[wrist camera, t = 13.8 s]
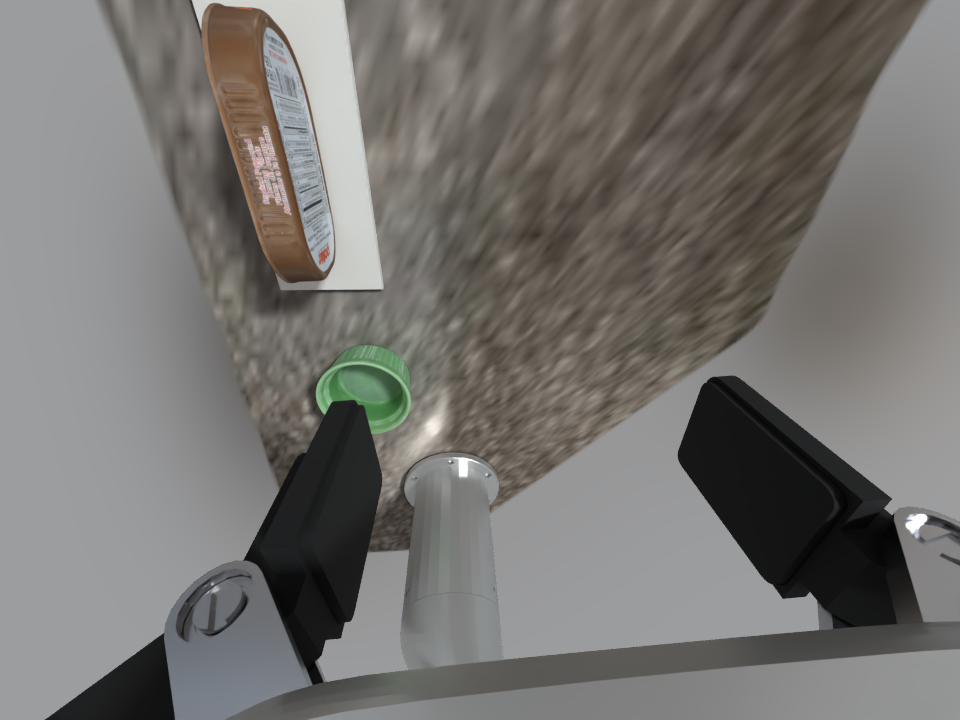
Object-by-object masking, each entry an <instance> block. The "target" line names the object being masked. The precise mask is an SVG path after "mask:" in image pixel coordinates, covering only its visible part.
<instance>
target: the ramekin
mask: <svg viewBox="0 0 960 720" xmlns="http://www.w3.org/2000/svg"><path fill="white" fill-rule="evenodd" d="M316 400H317V403H318V406H319V408H320V410H321V411H322V413H323V414H324V415H325V414H326V412H327V410H328V408H329V406H330V404H331V403H332V402H333V401H344V400H356V402H357V404H358V405H364V407H365V410H366V414H367V418H368V422H369V426H370V430H371V434H380V433H384V432H387V431H390V430H392V429H394V428H396V427H397V426H398V425H400V424H401V423H402V422H403V421H404V420H405V418H406V417H407V415H408V413H409V411H410V407H411V394H410V375H409V372H408V369H407V367H406V365H405V363H404V362H403V361H402V359H400V357H398V356H397V355H396V354H395V353H393V352H391V351H390V350H388V349H385V348H383V347H379V346H374V345H360V346H355V347H352V348H350V349H348V350H346V351H344V352H343V353H342V354H341V355H340V356H339V357H338V358H337V359H336V361H335V362H334V364H333V365H332V366H331V367H330V368H329V369H328V370H327V371H326V372H325V373H324V374H323V375H322V377H321V378H320V380H319V381H318V384H317V387H316Z"/></svg>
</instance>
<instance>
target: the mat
mask: <svg viewBox="0 0 960 720" xmlns="http://www.w3.org/2000/svg"><path fill="white" fill-rule="evenodd" d="M192 2H193V5H194V9H195V12H196V15H197V19H198V22H199V25H200V28H201V27H202V16H203V13H204V11H205V9H206V8H207V6H208V5H209V4H211V3H220V4H222V5H224V6H232V7H251V8H258V9H261V10H263V11H265V12H266V13H267V14H268V15H269V16H270V17H271V18H272V19H273V20H274V21H275V23H276V24H277V25H278V26H279V27H280V28H281V30H282V31H283V32H284V34H285V35H286V37H287V39H288V41H289V43H290V45H291V47H292V49H293V52H294V54H295V57H296V59H297V62H298V64H299V67H300V70H301V73H302V77H303V80H304V83H305V87H306V90H307V94H308V98H309V102H310V106H311V111H312V116H313V121H314V126H315V130H316V135H317V140H318V145H319V150H320V155H321V160H322V165H323V170H324V175H325V180H326V186H327V191H328V196H329V201H330V207H331V212H332V217H333V223H334V231H335V246H336V251H335V262H334V265H333V267H332V269H331V271H330V273H329V275H328V276H327V278H326V279H324V280H322V281H309V282H297V283H287V282H285V281H284V280H282V279H281V278H280V277H279V276H278V275H277V274H276V277H277V280H278V283H279V286H280V290H363V289H383V288H384V285H383V277H382V270H381V263H380V256H379V249H378V242H377V234H376V227H375V220H374V213H373V206H372V198H371V191H370V184H369V177H368V170H367V163H366V155H365V148H364V141H363V134H362V127H361V119H360V112H359V105H358V98H357V91H356V84H355V76H354V69H353V62H352V55H351V48H350V40H349V33H348V26H347V19H346V12H345V5H344V0H192Z"/></svg>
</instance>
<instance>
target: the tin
mask: <svg viewBox="0 0 960 720" xmlns="http://www.w3.org/2000/svg"><path fill="white" fill-rule="evenodd" d="M201 32H202V34H201V36H202V47H203V55H204V61H205V65H206V70H207V75H208V79H209V82H210V86H211V89H212V93H213V96H214V99H215V102H216V105H217V109H218V112H219V115H220V118H221V121H222V124H223V127H224V130H225V134H226V137H227V140H228V143H229V147H230V150H231V153H232V156H233V159H234V162H235V165H236V168H237V172H238V175H239V178H240V181H241V185H242V188H243V191H244V194H245V197H246V201H247V204H248V207H249V210H250V213H251V216H252V220H253V223H254V226H255V230H256V233H257V236H258V239H259V242H260V245H261V247H262V250H263V252H264V254H265V256H266V258H267V260H268V262H269V264H270V266H271V267H272V268H273V270H274V271H275V273H276V274H277V275H278V276H279V277H280V278H281V279H282V280H284V281H285V282H287V283H297V282H309V281H322V280H324V279H326V278H327V276H328V275H329V273H330V271H331V269H332V267H333V265H334V262H335V251H336V246H335V231H334V223H333V217H332V212H331V207H330V201H329V196H328V191H327V186H326V180H325V175H324V170H323V165H322V160H321V155H320V150H319V145H318V140H317V135H316V130H315V126H314V121H313V116H312V111H311V106H310V102H309V98H308V94H307V90H306V87H305V83H304V80H303V77H302V73H301V70H300V67H299V64H298V62H297V59H296V57H295V54H294V52H293V49H292V47H291V45H290V43H289V41H288V39H287V37H286V35H285V34H284V32H283V31H282V30H281V28H280V27H279V26H278V25H277V24H276V23H275V21H274V20H273V19H272V18H271V17H270V16H269V15H268V14H267V13H266V12H265V11H263V10H261V9H258V8H251V7H232V6H224V5H222V4H220V3H211V4H209V5H208V6H207V8H206V9H205V11H204V13H203V16H202V27H201Z"/></svg>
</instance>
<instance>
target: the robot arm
mask: <svg viewBox="0 0 960 720" xmlns="http://www.w3.org/2000/svg"><path fill="white" fill-rule="evenodd" d="M678 460H679V462H680V464H681V466H682V467H683V469H684V470H685V471H686V472H687V474H688V475H689V477H690V478H691V479H692V481H693V482H694V484H695V485H696V486H697V488H698V489H699V491H700V492H701V493H702V495H703V496H704V498H705V499H706V500H707V502H708V503H709V504H710V506H711V507H712V509H713V510H714V511H715V513H716V514H717V516H718V517H719V518H720V520H721V521H722V522H723V524H724V525H725V526H726V528H727V529H728V530H729V532H730V533H731V535H732V536H733V538H734V539H735V540H736V542H737V543H738V544H739V546H740V547H741V549H742V550H743V551H744V553H745V554H746V555H747V557H748V558H749V560H750V561H751V562H752V564H753V565H754V566H755V568H756V569H757V571H758V572H759V573H760V575H761V576H762V577H763V578H764V580H766V581H767V582H768V583H770V584H773V586H774V587H775V589H776V590H777V591H778V593H779V594H780V595H781V597H782V598H783V599H785V598H796V597H805V596H807V594H808V593H809V592H811V593H812V595H813V596H814V597H815V598H816V599H817V604H818V618H819V630H817V631H806V632H795V633H783V634H773V635H760V636H750V637H738V638H728V639H716V640H706V641H694V642H684V643H673V644H664V645H663V644H662V645H652V646H642V647H631V648H620V649H610V650H599V651H590V652H589V651H588V652H578V653H568V654H558V655H548V656H538V657H527V658H518V659H508V660H504V655H503V646H502V637H501V627H500V617H499V607H498V596H497V586H496V575H495V564H494V554H493V544H492V532H491V522H490V511H489V505H490V504H491V503H492V502H493V501H494V500H495V498H496V496H497V494H498V490H499V483H498V477H497V474H496V472H495V470H494V469H493V468H492V466H491V465H490V464H489V463H487V462H486V461H484V460H483V459H481V458H478V457H476V456H473V455H470V454H465V453H458V452H448V453H441V454H436V455H433V456H430V457H427V458H425V459H423V460H421V461H420V462H418V463H417V464H415V465H414V466H413V467H412V468H411V469H410V471H409V473H408V474H407V476H406V480H405V487H404V491H405V496H406V498H407V500H408V501H409V503H410V504H411V505H412V506H413V507H414V513H413V522H412V531H411V540H410V549H409V559H408V567H407V577H406V585H405V594H404V603H403V612H402V621H401V632H400V637H401V648H402V653H403V657H404V660H405V663H406V665H407V667H408V669H409V670H406V671H398V672H389V673H381V674H372V675H364V676H359V677H353V678H347V679H342V680H336V681H331V682H326V680H325V677H324V675H323V673H322V671H321V668H320V666H319V664H318V661H317V659H318V658H319V657H320V656H321V655H322V651H323V648H324V644H325V640H329V639H339V638H341V635H342V631H343V627H344V623H345V622H350V621H351V620H352V618H353V615H354V611H355V607H356V602H357V598H358V593H359V589H360V584H361V579H362V574H363V570H364V565H365V561H366V556H367V552H368V547H369V542H370V538H371V533H372V529H373V524H374V519H375V515H376V510H377V506H378V501H379V496H380V492H381V487H382V473H381V469H380V465H379V461H378V457H377V453H376V449H375V445H374V442H373V438H372V434H371V430H370V426H369V422H368V418H367V414H366V410H365V407H364V405H358V404H357V402H356V400H344V401H333V402H332V403H331V404H330V406H329V408H328V410H327V412H326V414H325V416H324V418H323V420H322V422H321V424H320V426H319V428H318V430H317V432H316V434H315V436H314V438H313V440H312V442H311V444H310V447H309V449H308V451H307V453H302V454H300V455H299V456H298V457H297V459H296V460H295V462H294V464H293V466H292V467H291V469H290V471H289V473H288V475H287V477H286V479H285V481H284V483H283V485H282V487H281V489H280V491H279V493H278V495H277V496H276V498H275V500H274V502H273V504H272V506H271V508H270V510H269V512H268V514H267V516H266V518H265V520H264V522H263V524H262V526H261V528H260V529H259V532H258V533H257V535H256V537H255V539H254V541H253V543H252V545H251V547H250V549H249V551H248V553H247V555H246V557H245V559H244V560H243V561H234V562H230V563H226V564H223V565H220V566H218V567H216V568H214V569H213V570H211V571H209V572H207V573H206V574H204V575H203V576H202V577H200V578H199V579H198V580H196V581H195V582H194V583H193V584H192V585H191V586H190V587H189V588H188V589H187V590H186V591H185V592H184V593H183V594H182V595H181V596H180V598H179V599H178V601H177V602H176V604H175V605H174V606H173V608H172V609H171V611H170V614H169V616H168V619H167V621H166V623H165V632H164V633H163V634H162V635H161V636H159V637H158V638H156V639H155V640H154V641H152V642H151V643H150V644H148V645H147V646H146V647H144V648H143V649H141V650H140V651H139V652H137V653H136V654H135V655H133V656H132V657H131V658H129V659H128V660H126V661H125V662H124V663H122V664H121V665H119V666H118V667H117V668H115V669H114V670H113V671H111V672H110V673H109V674H107V675H106V676H104V677H103V678H102V679H100V680H99V681H98V682H96V683H95V684H93V685H92V686H91V687H89V688H88V689H87V690H85V691H84V692H82V693H81V694H80V695H78V696H77V697H76V698H74V699H73V700H72V701H70V702H69V703H68V704H66V705H65V706H63V707H62V708H60V709H59V710H58V711H56V712H55V713H54V714H52V715H51V716H50V717H49V718H47V719H45V720H960V522H959V521H957V520H955V519H952V518H950V517H948V516H945V515H943V514H940V513H938V512H934V511H931V510H927V509H923V508H917V507H905V508H899V509H898V510H897V511H896V512H895V513H894V514H893V515H891V514H890V513H888V512H887V511H886V510H885V509H884V508H885V506H886V505H887V504H888V503H889V502H890V501H891V500H892V498H890V497H889V496H888V495H887V494H885V493H884V492H883V491H882V490H880V489H879V488H878V487H876V486H875V485H874V484H873V483H871V482H870V481H869V480H868V479H866V478H865V477H864V476H863V475H861V474H860V473H859V472H857V471H856V470H855V469H854V468H852V467H851V466H850V465H849V464H847V463H846V462H845V461H843V460H842V459H841V458H840V457H838V456H837V455H836V454H835V453H833V452H832V451H831V450H829V449H828V448H827V447H826V446H825V445H823V444H822V443H821V442H819V441H818V440H817V439H816V438H814V437H813V436H812V435H811V434H809V433H808V432H807V431H806V430H804V429H803V428H802V427H801V426H799V425H798V424H797V423H795V422H794V421H793V420H792V419H790V418H789V417H788V416H787V415H785V414H784V413H783V412H782V411H780V410H779V409H778V408H777V407H775V406H774V405H773V404H771V403H770V402H769V401H768V400H766V399H765V398H764V397H762V396H761V395H760V394H759V393H758V392H756V391H755V390H754V389H752V388H751V387H750V386H749V385H747V384H746V383H745V382H744V381H742V380H741V379H740V378H738V377H736V376H721V377H712V378H710V379H709V380H708V381H707V383H704V384H703V386H702V387H701V390H700V393H699V395H698V398H697V401H696V404H695V406H694V409H693V412H692V415H691V417H690V420H689V423H688V426H687V429H686V431H685V434H684V437H683V440H682V442H681V445H680V448H679V450H678Z"/></svg>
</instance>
